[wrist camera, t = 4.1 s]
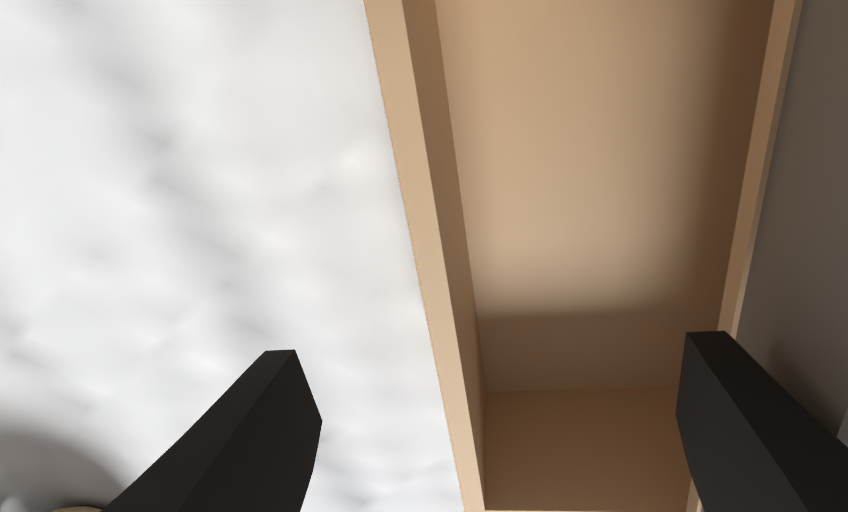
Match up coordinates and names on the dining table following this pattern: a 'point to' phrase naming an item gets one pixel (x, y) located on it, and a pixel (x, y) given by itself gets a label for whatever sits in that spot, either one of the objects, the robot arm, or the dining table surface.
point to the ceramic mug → (78, 509)
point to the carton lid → (796, 216)
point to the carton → (569, 226)
